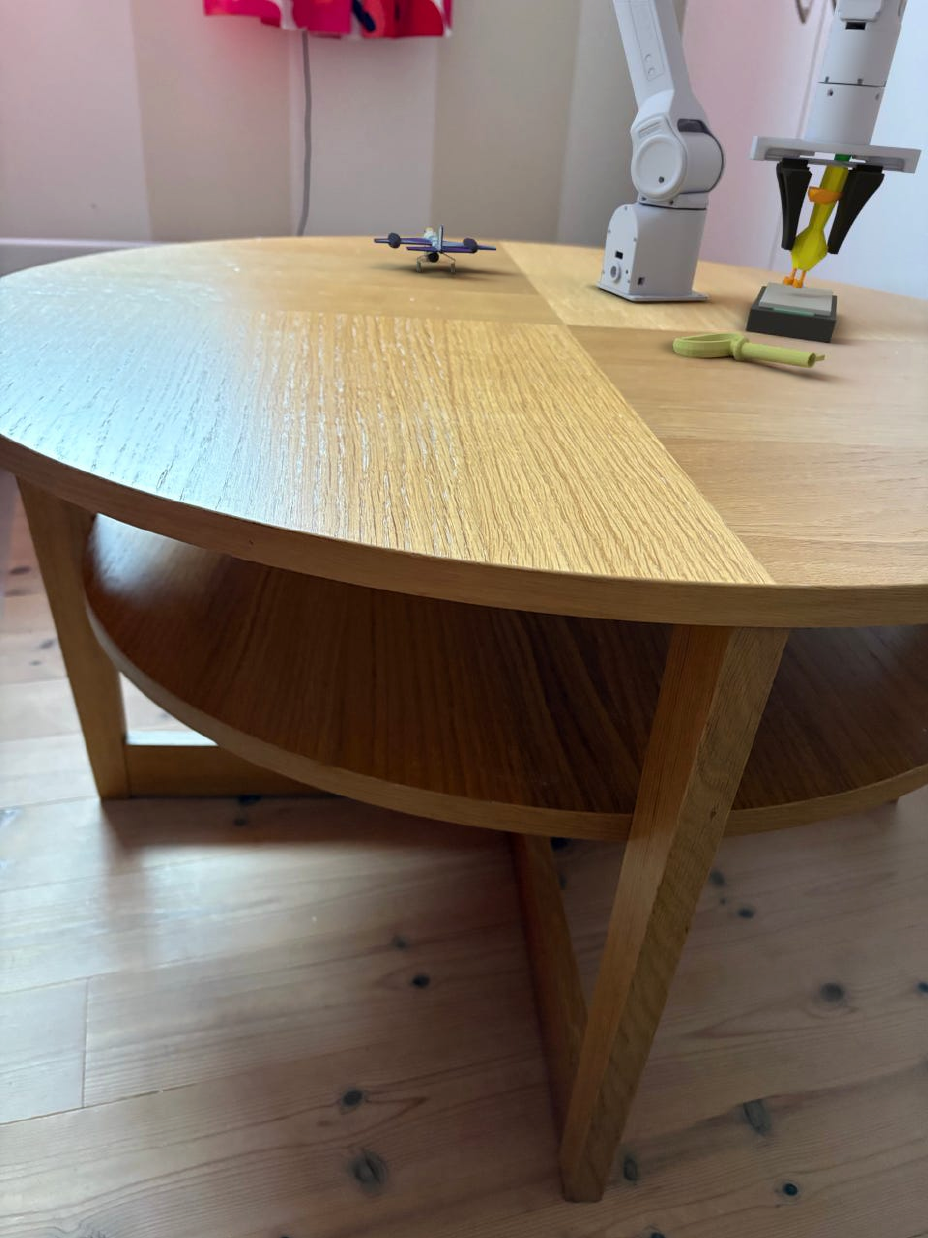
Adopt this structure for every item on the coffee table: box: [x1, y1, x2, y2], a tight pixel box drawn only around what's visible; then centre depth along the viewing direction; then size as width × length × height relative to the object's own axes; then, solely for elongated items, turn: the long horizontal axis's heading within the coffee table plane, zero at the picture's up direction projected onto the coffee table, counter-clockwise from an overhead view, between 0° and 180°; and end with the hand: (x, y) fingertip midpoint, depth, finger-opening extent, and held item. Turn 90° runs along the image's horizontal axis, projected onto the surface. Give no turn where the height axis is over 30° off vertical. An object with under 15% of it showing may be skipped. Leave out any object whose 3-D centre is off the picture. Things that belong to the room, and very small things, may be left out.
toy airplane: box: [373, 224, 497, 274], centre depth 100 cm, size 13×14×4 cm
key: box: [672, 331, 826, 369], centre depth 74 cm, size 7×12×2 cm, turn 58°
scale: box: [745, 281, 838, 343], centre depth 87 cm, size 14×8×2 cm, turn 159°
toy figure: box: [781, 154, 852, 288], centre depth 84 cm, size 7×4×12 cm, turn 141°
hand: (809, 250), depth 85 cm, fingers closed on toy figure, 4 cm apart
